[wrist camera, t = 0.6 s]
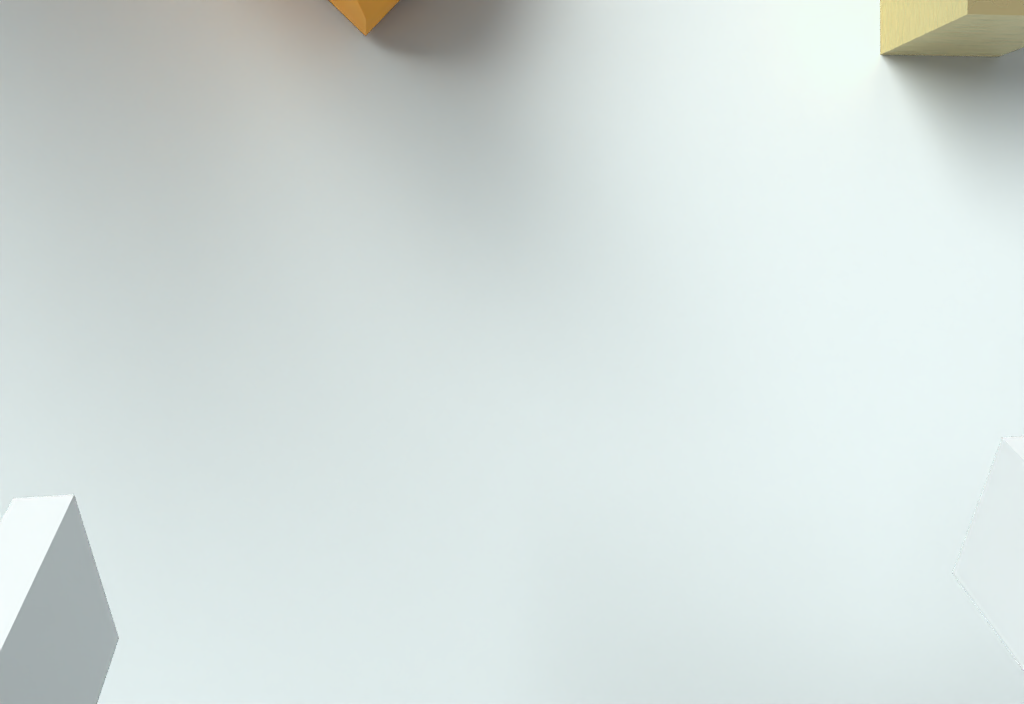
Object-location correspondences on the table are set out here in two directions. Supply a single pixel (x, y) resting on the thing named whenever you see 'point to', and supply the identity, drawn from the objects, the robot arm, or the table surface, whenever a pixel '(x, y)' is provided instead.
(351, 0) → the bracket
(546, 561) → the table surface
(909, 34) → the sand colored cube
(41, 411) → the table surface
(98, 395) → the table surface
